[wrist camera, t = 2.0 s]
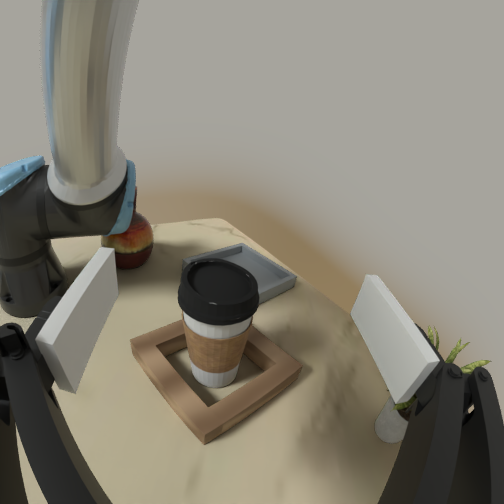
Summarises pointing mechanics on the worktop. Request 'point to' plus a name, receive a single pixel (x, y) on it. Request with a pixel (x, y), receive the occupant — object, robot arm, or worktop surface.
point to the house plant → (393, 415)
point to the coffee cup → (216, 317)
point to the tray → (253, 269)
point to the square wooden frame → (232, 406)
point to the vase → (131, 241)
